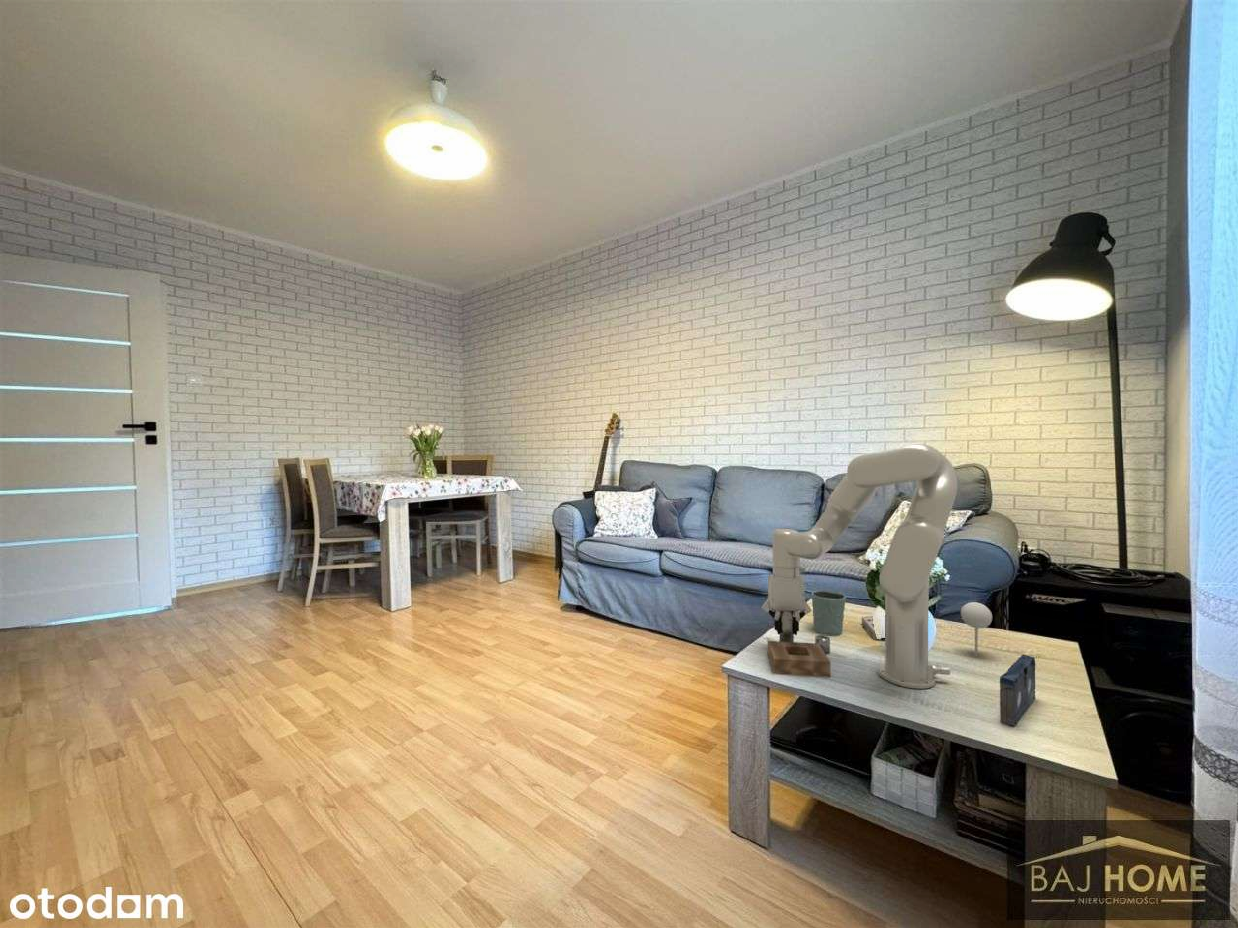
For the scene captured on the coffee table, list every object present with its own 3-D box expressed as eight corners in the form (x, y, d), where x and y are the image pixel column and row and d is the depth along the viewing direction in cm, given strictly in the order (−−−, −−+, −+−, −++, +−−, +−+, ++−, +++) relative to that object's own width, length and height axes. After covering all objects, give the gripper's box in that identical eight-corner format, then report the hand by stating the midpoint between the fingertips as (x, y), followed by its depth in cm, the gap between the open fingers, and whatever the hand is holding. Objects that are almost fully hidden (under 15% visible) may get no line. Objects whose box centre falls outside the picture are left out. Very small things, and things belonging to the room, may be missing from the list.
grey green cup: (805, 626, 158) (805, 590, 158) (832, 624, 160) (832, 588, 160) (824, 638, 148) (823, 600, 148) (852, 635, 150) (852, 597, 150)
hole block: (819, 657, 135) (818, 643, 134) (830, 677, 123) (830, 662, 123) (767, 654, 137) (767, 641, 137) (774, 673, 125) (774, 658, 125)
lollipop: (998, 658, 133) (998, 604, 132) (981, 662, 130) (981, 608, 130) (971, 648, 139) (971, 597, 139) (954, 652, 137) (955, 600, 136)
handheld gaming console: (890, 615, 159) (907, 632, 144) (890, 626, 159) (907, 643, 144) (860, 614, 161) (874, 630, 146) (860, 624, 161) (874, 641, 146)
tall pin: (792, 647, 142) (792, 607, 142) (795, 652, 138) (794, 611, 138) (778, 646, 143) (778, 606, 142) (780, 652, 139) (780, 611, 138)
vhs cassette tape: (1022, 695, 113) (1022, 653, 113) (1038, 700, 110) (1038, 657, 110) (996, 722, 102) (996, 676, 102) (1014, 728, 99) (1014, 681, 99)
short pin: (827, 649, 140) (827, 635, 140) (831, 654, 136) (831, 641, 136) (813, 648, 141) (813, 635, 141) (816, 654, 137) (816, 640, 137)
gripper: (813, 569, 142) (813, 629, 143) (755, 567, 145) (755, 627, 145) (819, 575, 135) (819, 639, 135) (758, 573, 138) (758, 636, 138)
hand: (786, 632), depth 140 cm, fingers closed on tall pin, 4 cm apart
